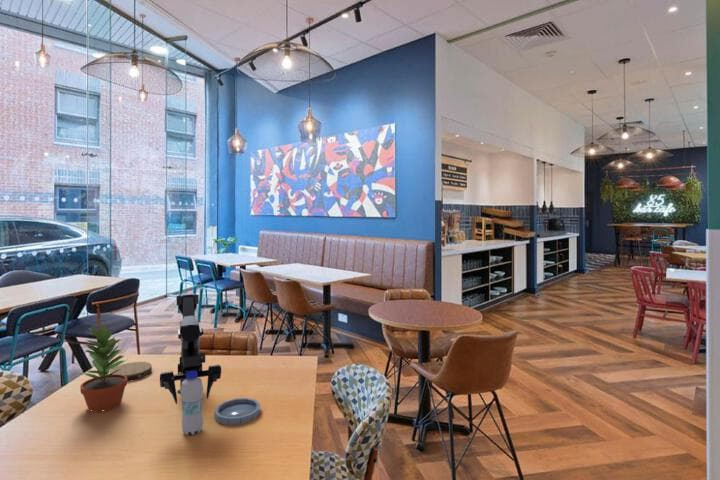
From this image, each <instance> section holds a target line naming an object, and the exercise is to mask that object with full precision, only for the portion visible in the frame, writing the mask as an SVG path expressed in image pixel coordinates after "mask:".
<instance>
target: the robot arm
mask: <svg viewBox="0 0 720 480" xmlns="http://www.w3.org/2000/svg"><path fill="white" fill-rule="evenodd" d="M199 302H200V301H199V294H196V293H193V292H192V293H181V294H179V295H176V307H177V306H178V311H179V313H180V314H181V316H182V320H181V321H180V322H179V327H178V328H177V332H178V333H177V337H178V338H177V339H178V340H179V339H180V341H181V345H180V346H181V349H180V350H181V354H180V356H179V363H177V374H174V371H173V370H171V371H163V372H161V373H160V374H159V385H160V386H159V387H160V388H164V389H165V390H168V391H169V392H170V394H171V397H172V398H173V401H174V403H175V405H177V404H178V395H177V393H178V394H179V393H180V394H181V386H182V382H183V381H184V380H185V379H186V374H187V372H189V371H191V370H195V371H197V373H198V376H197V378H203V377H207V385H206V386H207V387H206V395H205V396H206V400H208V399H209V397H210V392H211V389H212V387H213V384H214V382H217V381H218V380H219V379H221V376H222V365H220V364H215V365H208V369H206V370H203V364H204V363H206V352H200V340H201V337H202V336H203V335H204V329H203V328H202V325H200V321H199V319H197V318H196V315H195V312H196V310H197V308H198V305H199ZM177 381H179V382H180V389H178V390H177V388H176V382H177Z"/></svg>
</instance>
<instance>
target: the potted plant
mask: <svg viewBox="0 0 720 480" xmlns="http://www.w3.org/2000/svg"><path fill="white" fill-rule="evenodd" d="M87 329H89V330H90V332H91V333H92V334H93V335H94V336H95V337H96V341H95V340H90V339H89V340H87V339H86V341H87V342H88V343H90V344H84V346H85V347H87V348H88V349H90V350H85V352H86V353H88V354H89V356H90V357H91V359H93V360H92V361H91V363H92V364H93V366H94V367H95V369H96V370H88V371H87V372H86V373H80V374H82V375H84V376H87V377H90V379H87V380H85V381H84V382H82V383H81V384H80V386H79V387H80V394H82V396H83V398H84V401H85V404H86V406H87V410H88V409H89V410H92V411H102V410H107V411H109V410H108V409H111V410H113V409H115V408H118V407H119V406H120V405H121V404H120V403H122V400H123V396H124V392H125V390H126V387H127V385H128V381H127V377H126V376H125V375H121V374H114V373H115V372H117V371H119V370H121V369H118V370H117V371H115V372H113V373H110V371H111V370H112V369H113V368H115V367H117V366H119V365H122V364H123V363H125V362H126V361H128V358H127V359H126V360H121V359H122V358H124V357H125V356H126V354H124V355H119V356H117V355H118V354H119V353H120V352H121V351H122V350H123V348H124V347H123V348H120V349H118V347H119V346H120V343H119V342H120V341H121V340H122V339H124V337H122V338H120V339H117V340H116V338H115V337H116V336H113V337H112V334H113V333H114V332H115V330H116V329H115V328H114V329H113V330H111V331H109V332H108V327H105V325H103V326H102V327H100V328H99V329H98V330H96V329H95V328H93V327H92V328H91V327H88V326H87ZM111 337H112V338H111ZM118 343H119V344H118ZM116 344H118V345H117V346H116ZM115 346H116V347H115ZM96 374H98V375H96ZM118 405H119V406H118ZM112 408H113V409H112ZM89 410H88V411H89Z"/></svg>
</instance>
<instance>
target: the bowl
mask: <svg viewBox="0 0 720 480" xmlns="http://www.w3.org/2000/svg"><path fill="white" fill-rule="evenodd" d="M260 412H261V403H260V402H259V401H258V400H257V399H253V398H249V397H238V398H232V399H228V400H225V401H223V402H222V403H220V404H218V405H217V406H216V407H215V409H214V420H216V422H217V423H218V424H223V425H226V426H232V425H233V426H235V425H242V424H246V423H249V422H252V421H253V420H255V419H256V418H257V417H259V416H260Z"/></svg>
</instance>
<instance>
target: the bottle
mask: <svg viewBox="0 0 720 480" xmlns="http://www.w3.org/2000/svg"><path fill="white" fill-rule="evenodd" d="M197 376H198V373H197V371H195V370H191V371H189V372H187V374H186V379H185V380H184V381H183V382H182V386H181V388H180V389H181V393H180V398H181V408H182V409H181V411H182V412H181V413H182V418H181V430H182V432H183V434H185V435H186V436H189V434H191V435H192V436H193V435H195V433H197V434H199V433H200V432H201V430H202V429H203V426H204V420H203V418H204V417H203V394H204V385H203V381H202V379H201V377H198V378H197Z"/></svg>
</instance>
